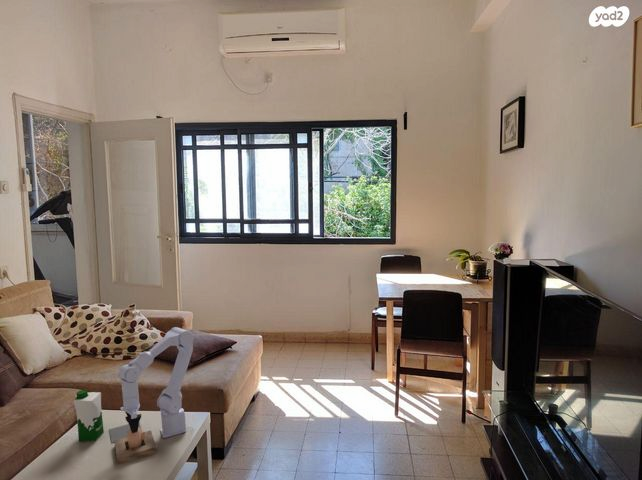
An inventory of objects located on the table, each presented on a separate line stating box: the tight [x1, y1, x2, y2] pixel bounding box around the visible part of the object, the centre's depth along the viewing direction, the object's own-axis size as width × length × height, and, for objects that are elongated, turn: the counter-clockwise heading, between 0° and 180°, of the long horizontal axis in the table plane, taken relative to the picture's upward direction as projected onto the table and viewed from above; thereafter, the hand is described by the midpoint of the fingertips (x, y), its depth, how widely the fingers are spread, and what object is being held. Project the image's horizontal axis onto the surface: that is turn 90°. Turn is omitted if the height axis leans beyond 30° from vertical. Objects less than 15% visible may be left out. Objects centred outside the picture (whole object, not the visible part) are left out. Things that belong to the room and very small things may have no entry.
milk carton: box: [73, 389, 104, 442], centre depth 189 cm, size 9×9×20 cm
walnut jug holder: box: [114, 430, 158, 465], centre depth 180 cm, size 14×14×2 cm
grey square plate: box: [109, 422, 143, 444], centre depth 193 cm, size 12×12×1 cm
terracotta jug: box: [127, 427, 146, 450], centre depth 179 cm, size 6×5×8 cm
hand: (133, 427), depth 179 cm, fingers open, 7 cm apart
